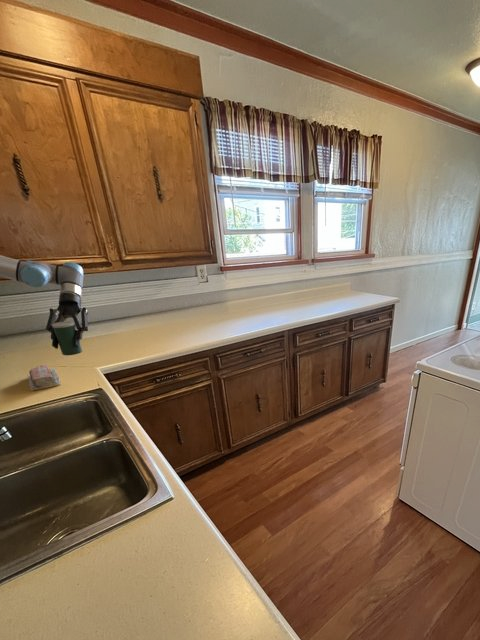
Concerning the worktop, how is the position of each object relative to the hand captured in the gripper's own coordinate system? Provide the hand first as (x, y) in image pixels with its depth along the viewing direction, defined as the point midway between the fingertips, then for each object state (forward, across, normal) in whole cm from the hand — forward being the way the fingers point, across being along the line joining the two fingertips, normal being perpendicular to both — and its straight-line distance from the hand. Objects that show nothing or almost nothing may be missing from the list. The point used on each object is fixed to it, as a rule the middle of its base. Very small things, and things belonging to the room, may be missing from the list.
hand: (65, 346), depth 129 cm
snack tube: (0, 0, -5) cm, 5 cm away
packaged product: (+10, +13, -12) cm, 20 cm away
